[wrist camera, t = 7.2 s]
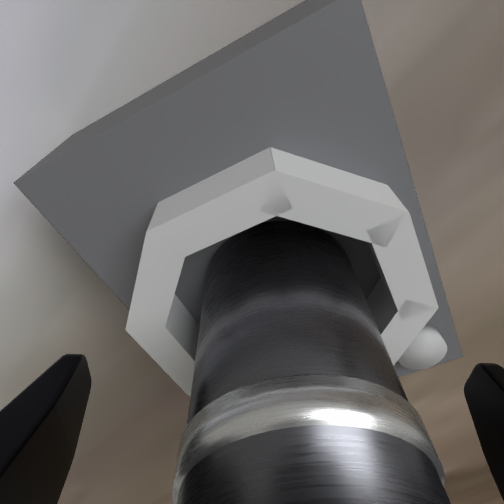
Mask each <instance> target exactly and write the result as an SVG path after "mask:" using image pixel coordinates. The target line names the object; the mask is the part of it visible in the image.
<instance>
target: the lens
mask: <svg viewBox="0 0 504 504" xmlns="http://www.w3.org/2000/svg"><path fill="white" fill-rule="evenodd" d="M444 481H445V475H444V471H443V467H442V465H441V462H440V460H439V458H438V455H437V453H436V451H435V448H434V446H433V444H432V441H431V439H430V437H429V434H428V432H427V430H426V428H425V425H424V423H423V421H422V419H421V417H420V415H419V413H418V412H417V410H416V409H415V408H414V407H413V406H412V405H411V404H410V403H409V402H408V400H407V397H406V395H405V392H404V390H403V388H402V385H401V383H400V380H399V378H398V376H397V373H396V371H395V368H394V366H393V364H392V361H391V359H390V356H389V354H388V351H387V349H386V347H385V344H384V342H383V339H382V337H381V335H380V332H379V330H378V327H377V325H376V323H375V320H374V318H373V315H372V313H371V311H370V308H369V306H368V303H367V301H366V299H365V296H364V294H363V291H362V289H361V286H360V284H359V282H358V279H357V277H356V274H355V272H354V270H353V267H352V265H351V262H350V260H349V258H348V256H347V254H346V252H345V250H344V249H343V247H342V246H341V245H340V243H339V242H338V241H337V240H336V239H335V238H334V237H332V236H331V235H329V234H328V233H327V232H325V231H323V230H321V229H319V228H317V227H314V226H310V225H307V224H303V223H300V222H296V221H288V220H278V221H269V222H263V223H260V224H257V225H255V226H253V227H251V228H248V229H246V230H244V231H242V232H240V233H237V234H235V235H233V236H231V237H230V238H229V239H227V240H226V241H225V242H224V243H223V244H222V245H221V246H220V247H219V248H218V250H217V251H216V252H215V254H214V255H213V257H212V259H211V261H210V263H209V265H208V269H207V273H206V279H205V287H204V295H203V303H202V311H201V319H200V326H199V334H198V342H197V350H196V358H195V366H194V374H193V382H192V390H191V398H190V405H189V413H188V421H187V426H186V428H185V430H184V431H183V433H182V436H181V439H180V442H179V448H178V455H177V462H176V469H175V477H174V484H173V491H172V501H173V504H451V503H450V501H449V498H448V496H447V494H446V491H445V489H444Z"/></svg>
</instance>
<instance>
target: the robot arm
mask: <svg viewBox="0 0 504 504" xmlns="http://www.w3.org/2000/svg"><path fill="white" fill-rule="evenodd" d="M90 389H91V376H90V372H89V368H88V364H87V360H86V357H85V356H84V355H82V354H66V355H64V356H62V357H61V358H60V359H59V360H58V361H56V362H55V363H54V364H53V365H52V366H51V367H50V368H48V369H47V370H46V371H45V372H44V373H43V374H42V375H41V376H39V377H38V378H37V379H36V380H35V381H34V382H33V383H31V384H30V385H29V386H28V387H27V388H26V389H25V390H24V391H22V392H21V393H20V394H19V395H18V396H17V397H16V398H14V399H13V400H12V401H11V402H10V403H9V404H8V405H7V406H5V407H4V408H3V409H2V410H1V411H0V504H57V503H58V500H59V497H60V495H61V492H62V489H63V486H64V483H65V481H66V478H67V475H68V472H69V470H70V467H71V464H72V461H73V458H74V454H75V450H76V447H77V443H78V439H79V434H80V430H81V426H82V422H83V418H84V414H85V410H86V406H87V402H88V398H89V394H90ZM464 394H465V398H466V401H467V404H468V407H469V410H470V413H471V416H472V419H473V422H474V426H475V429H476V432H477V435H478V438H479V441H480V444H481V447H482V450H483V453H484V456H485V458H486V461H487V463H488V466H489V468H490V471H491V473H492V475H493V478H494V480H495V482H496V485H497V487H498V489H499V491H500V494H501V496H502V498H503V501H504V368H502V367H501V366H499V365H497V364H494V363H479V364H477V365H476V366H475V367H474V369H473V371H472V373H471V374H470V376H469V378H468V380H467V382H466V383H465V386H464Z"/></svg>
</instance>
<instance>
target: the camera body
mask: <svg viewBox="0 0 504 504" xmlns="http://www.w3.org/2000/svg"><path fill="white" fill-rule="evenodd" d="M14 184H15V185H16V186H17V187H18V188H19V189H20V191H21V192H22V193H23V194H24V195H25V196H26V197H27V198H28V199H29V200H30V202H31V203H32V204H33V205H34V206H35V207H36V208H37V209H38V210H39V211H40V213H41V214H42V215H43V216H44V217H45V218H46V219H47V220H48V221H49V222H50V224H51V225H52V226H53V227H54V228H55V229H56V230H57V231H58V232H59V233H60V235H61V236H62V237H63V238H64V239H65V240H66V241H67V242H68V243H69V244H70V246H71V247H72V248H73V249H74V250H75V251H76V252H77V253H78V254H79V255H80V257H81V258H82V259H83V260H84V261H85V262H86V263H87V264H88V265H89V266H90V268H91V269H92V270H93V271H94V272H95V273H96V274H97V275H98V276H99V277H100V279H101V280H102V281H103V282H104V283H105V284H106V285H107V286H108V287H109V288H110V289H111V291H112V292H113V293H114V294H115V295H116V296H117V297H118V298H119V299H120V300H121V302H122V303H123V304H124V305H125V306H126V307H127V308H128V309H129V315H128V320H127V325H126V329H125V330H126V331H127V332H128V333H129V334H130V335H131V336H132V337H133V338H134V340H135V341H136V342H137V343H138V344H139V345H140V346H141V347H142V348H143V349H144V350H145V351H146V352H147V353H148V354H149V355H150V356H151V357H152V358H153V359H154V360H155V362H156V363H157V364H158V365H159V366H160V367H161V368H162V369H163V370H164V371H165V372H166V373H167V374H168V375H169V376H170V377H171V378H172V379H173V380H174V381H175V382H176V384H177V385H178V386H179V387H180V388H181V389H182V390H183V391H184V392H185V393H186V394H187V395H188V396H191V390H192V382H193V374H194V366H195V358H196V350H197V342H198V334H199V326H200V319H201V311H202V303H203V295H204V287H205V279H206V273H207V269H208V265H209V263H210V261H211V259H212V257H213V255H214V254H215V252H216V251H217V250H218V248H219V247H220V246H221V245H222V244H223V243H224V242H225V241H226V240H227V239H229V238H230V237H231V236H233V235H235V234H237V233H240V232H242V231H244V230H246V229H248V228H251V227H253V226H255V225H257V224H260V223H263V222H269V221H278V220H288V221H296V222H300V223H303V224H307V225H310V226H314V227H317V228H319V229H321V230H323V231H325V232H327V233H328V234H329V235H331V236H332V237H334V238H335V239H336V240H337V241H338V242H339V243H340V245H341V246H342V247H343V249H344V250H345V252H346V254H347V256H348V258H349V260H350V262H351V265H352V267H353V270H354V272H355V274H356V277H357V279H358V282H359V284H360V286H361V289H362V291H363V294H364V296H365V299H366V301H367V303H368V306H369V308H370V311H371V313H372V315H373V318H374V320H375V323H376V325H377V327H378V330H379V332H380V335H381V337H382V339H383V342H384V344H385V347H386V349H387V351H388V354H389V356H390V359H391V361H392V364H393V366H394V368H395V371H396V373H397V376H398V377H401V376H404V375H407V374H410V373H413V372H416V371H419V370H423V369H426V368H429V367H432V366H435V365H438V364H441V363H445V362H448V361H451V360H454V359H457V358H460V357H463V355H462V351H461V348H460V344H459V341H458V337H457V334H456V330H455V327H454V323H453V320H452V316H451V313H450V309H449V306H448V302H447V299H446V295H445V292H444V288H443V285H442V281H441V278H440V274H439V271H438V268H437V264H436V261H435V257H434V254H433V250H432V247H431V243H430V240H429V236H428V233H427V229H426V226H425V222H424V219H423V215H422V212H421V208H420V205H419V201H418V198H417V194H416V191H415V187H414V184H413V180H412V177H411V173H410V170H409V166H408V163H407V160H406V156H405V153H404V149H403V146H402V142H401V139H400V135H399V132H398V128H397V125H396V121H395V118H394V114H393V111H392V107H391V104H390V100H389V97H388V93H387V90H386V86H385V83H384V79H383V76H382V72H381V69H380V65H379V62H378V59H377V55H376V52H375V48H374V45H373V41H372V38H371V34H370V31H369V27H368V24H367V20H366V17H365V13H364V10H363V6H362V3H361V0H306V1H304V2H302V3H300V4H299V5H297V6H295V7H294V8H292V9H290V10H288V11H287V12H285V13H283V14H281V15H280V16H278V17H276V18H274V19H273V20H271V21H269V22H268V23H266V24H264V25H262V26H261V27H259V28H257V29H255V30H254V31H252V32H250V33H248V34H247V35H245V36H243V37H242V38H240V39H238V40H236V41H235V42H233V43H231V44H229V45H228V46H226V47H224V48H222V49H221V50H219V51H217V52H216V53H214V54H212V55H210V56H209V57H207V58H205V59H203V60H202V61H200V62H198V63H196V64H195V65H193V66H191V67H190V68H188V69H186V70H184V71H183V72H181V73H179V74H177V75H176V76H174V77H172V78H170V79H169V80H167V81H165V82H164V83H162V84H160V85H158V86H157V87H155V88H153V89H151V90H150V91H148V92H146V93H144V94H143V95H141V96H139V97H138V98H136V99H134V100H132V101H131V102H129V103H127V104H125V105H124V106H122V107H120V108H118V109H117V110H115V111H113V112H112V113H110V114H108V115H106V116H105V117H103V118H101V119H99V120H98V121H96V122H94V123H92V124H91V125H89V126H87V127H86V128H84V129H82V130H80V131H79V132H77V133H75V134H73V135H72V136H70V137H69V138H68V139H67V140H66V141H64V142H63V143H62V144H61V145H59V146H58V147H57V148H56V149H54V150H53V151H52V152H51V153H50V154H48V155H47V156H46V157H45V158H43V159H42V160H41V161H40V162H38V163H37V164H36V165H35V166H34V167H32V168H31V169H30V170H29V171H27V172H26V173H25V174H24V175H23V176H21V177H20V178H19V179H18V180H16V181H15V182H14Z"/></svg>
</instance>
